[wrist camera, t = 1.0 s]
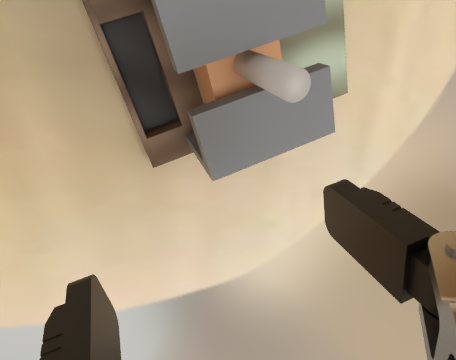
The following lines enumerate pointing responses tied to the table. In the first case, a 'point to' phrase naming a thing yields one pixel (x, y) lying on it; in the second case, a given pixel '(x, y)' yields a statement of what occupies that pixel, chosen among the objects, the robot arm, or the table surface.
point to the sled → (253, 75)
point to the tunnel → (252, 97)
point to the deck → (186, 82)
